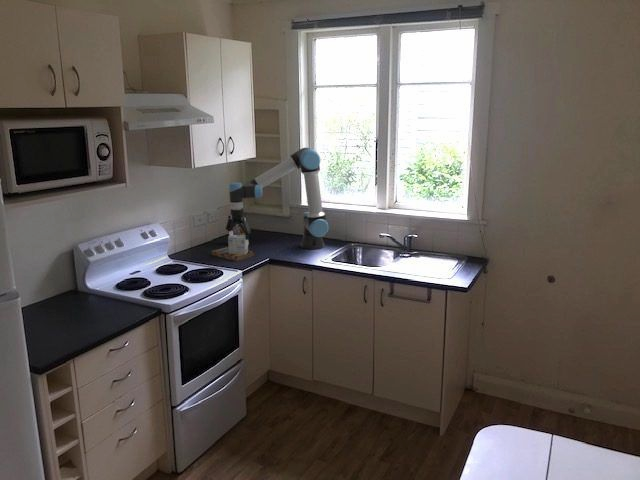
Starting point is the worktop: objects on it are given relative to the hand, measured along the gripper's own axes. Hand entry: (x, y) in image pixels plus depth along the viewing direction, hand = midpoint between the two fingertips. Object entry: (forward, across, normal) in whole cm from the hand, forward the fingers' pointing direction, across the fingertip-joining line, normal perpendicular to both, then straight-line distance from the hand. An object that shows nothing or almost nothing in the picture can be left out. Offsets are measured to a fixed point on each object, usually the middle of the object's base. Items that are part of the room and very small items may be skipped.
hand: (239, 243), depth 336 cm
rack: (+9, -6, -1) cm, 10 cm away
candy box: (+9, -25, +21) cm, 34 cm away
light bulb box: (+6, 0, 0) cm, 6 cm away
